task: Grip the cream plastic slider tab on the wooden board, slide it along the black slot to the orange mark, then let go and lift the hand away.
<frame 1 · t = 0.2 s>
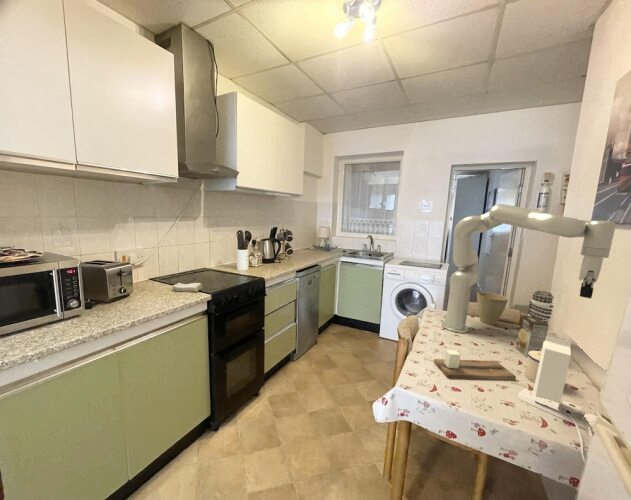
hand: (585, 295, 104), 31 cm above the table, tool pointing down, fingers open, 9 cm apart
plant pot: (487, 322, 152), on the table
fader tab: (452, 359, 100), point 5 cm above the table, slide at -9.0 cm
decorative candle: (534, 339, 133), on the table
teacup with lid: (538, 378, 99), on the table
milk: (545, 402, 86), on the table
wooden board: (472, 370, 101), on the table
coffee box: (527, 353, 118), on the table
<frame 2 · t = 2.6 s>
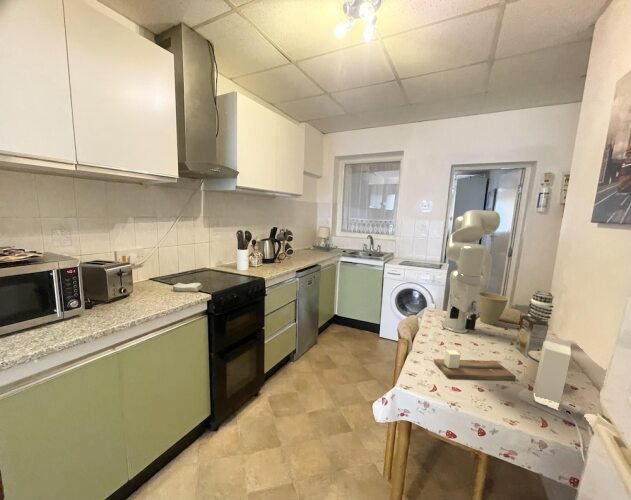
hand: (461, 323, 98), 19 cm above the table, tool pointing down, fingers open, 9 cm apart
nothing on the table moved.
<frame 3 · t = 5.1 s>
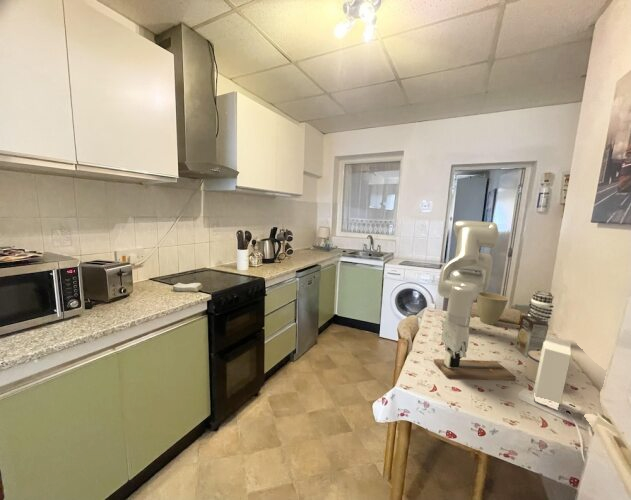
hand: (451, 363, 100), 3 cm above the table, tool pointing down, fingers closed on fader tab, 3 cm apart
fader tab: (452, 359, 100), point 5 cm above the table, slide at -9.0 cm, touching gripper
everything else where it was.
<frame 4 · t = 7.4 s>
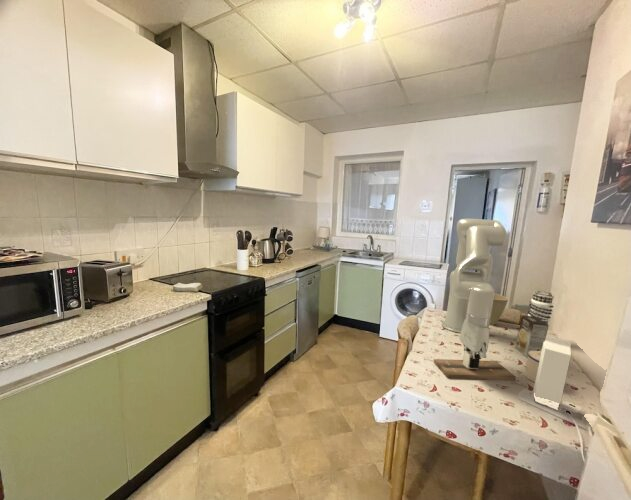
hand: (470, 364, 100), 3 cm above the table, tool pointing down, fingers closed on fader tab, 3 cm apart
fader tab: (471, 359, 100), point 5 cm above the table, slide at -1.4 cm, touching gripper
everything else where it was.
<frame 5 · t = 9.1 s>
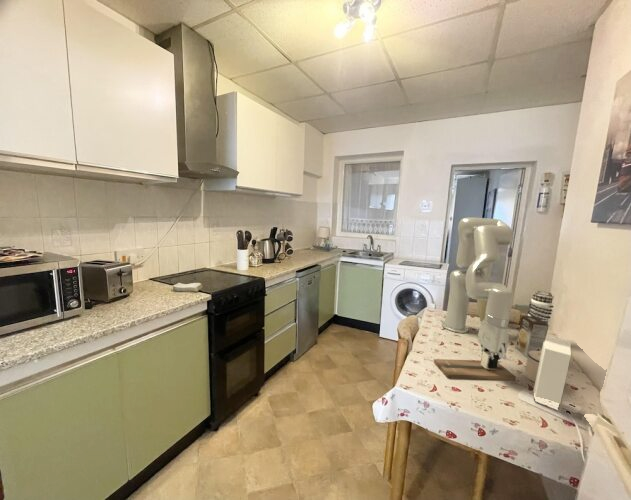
hand: (488, 364, 101), 3 cm above the table, tool pointing down, fingers closed on fader tab, 3 cm apart
fader tab: (489, 360, 101), point 5 cm above the table, slide at 5.9 cm, touching gripper
everything else where it was.
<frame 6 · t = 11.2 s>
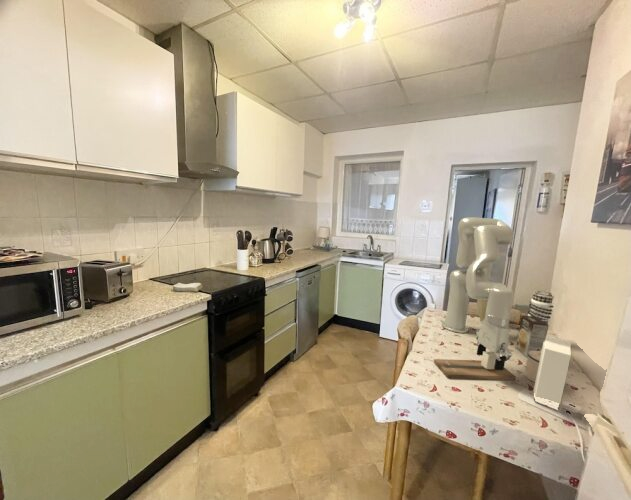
hand: (489, 361, 101), 4 cm above the table, tool pointing down, fingers open, 9 cm apart
fader tab: (489, 360, 101), point 5 cm above the table, slide at 6.0 cm
everything else where it was.
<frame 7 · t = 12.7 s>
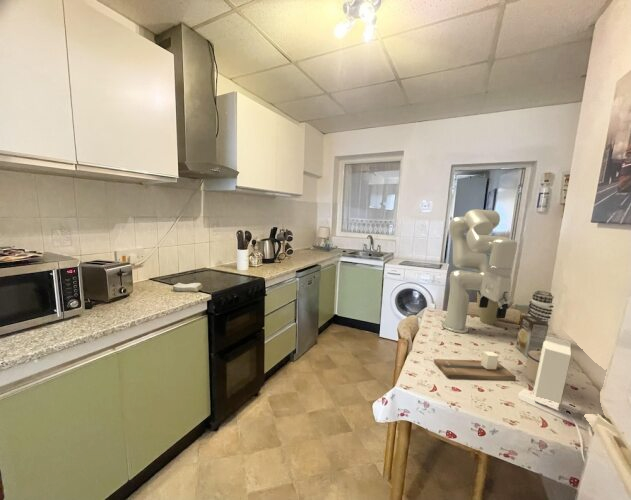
hand: (491, 312, 104), 22 cm above the table, tool pointing down, fingers open, 9 cm apart
nothing on the table moved.
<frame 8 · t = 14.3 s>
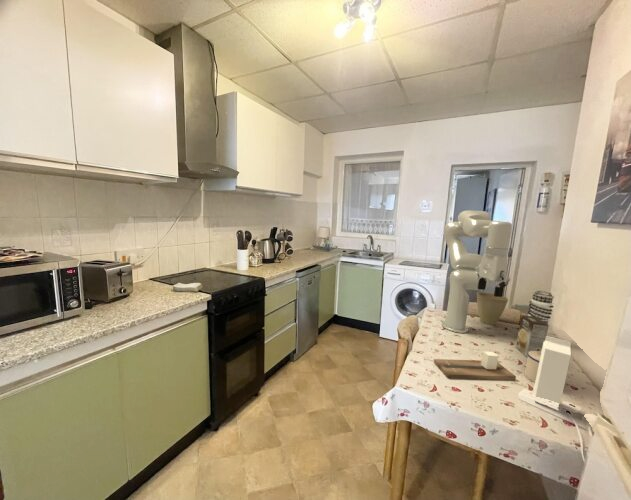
hand: (489, 292, 108), 28 cm above the table, tool pointing down, fingers open, 9 cm apart
nothing on the table moved.
at the end: fader tab slide at 6.0 cm; the gripper is holding nothing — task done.
